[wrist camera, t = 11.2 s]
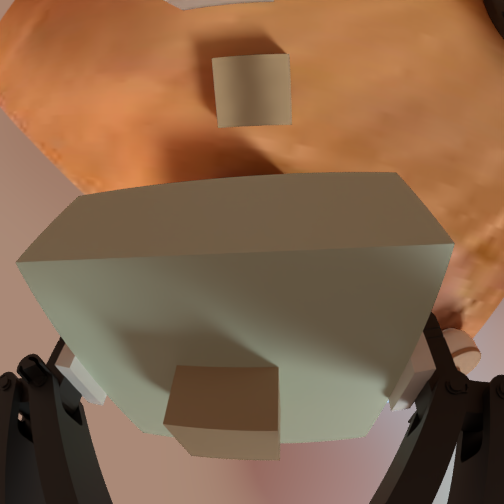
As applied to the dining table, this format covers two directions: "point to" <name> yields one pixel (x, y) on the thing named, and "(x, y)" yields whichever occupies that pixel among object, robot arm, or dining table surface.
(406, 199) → the lid
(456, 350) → the lidded jar
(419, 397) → the robot arm
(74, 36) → the dining table surface
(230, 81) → the oak stand
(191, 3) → the planter
